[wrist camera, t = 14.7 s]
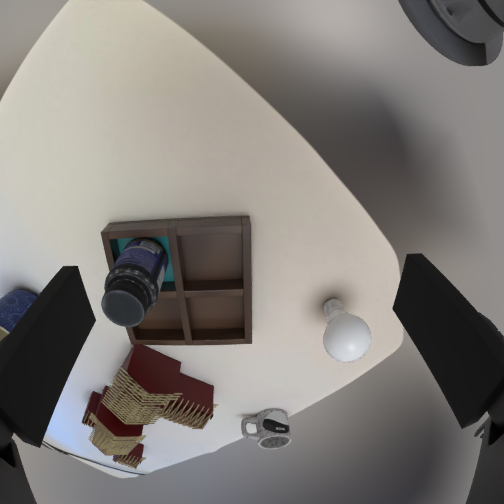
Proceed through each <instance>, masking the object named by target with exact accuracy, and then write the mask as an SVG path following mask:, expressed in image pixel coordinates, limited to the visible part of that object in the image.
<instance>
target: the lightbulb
mask: <svg viewBox="0 0 504 504" xmlns="http://www.w3.org/2000/svg"><path fill="white" fill-rule="evenodd" d="M324 311H325V314H326V316H327V327H326V329H325V332H324V336H323V343H324V347H325V350H326V352H327V353H328V355H329V356H330V357H331V358H333V359H334V360H336V361H339V362H343V363H349V362H354V361H356V360H358V359H360V358H361V357H362V356H364V355H365V353H366V352H367V351H368V349H369V347H370V343H371V332H370V329H369V326H368V325H367V323H366V322H365V321H364V320H363V319H361V318H360V317H358V316H355V315H352V314H349V313H348V312H347V311H345V310H344V309H343V307H342V305H341V303H340V301H339V300H337V299H331V300H329V301H327V302H326V303H325V305H324Z"/></svg>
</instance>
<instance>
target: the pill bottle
mask: <svg viewBox="0 0 504 504" xmlns="http://www.w3.org/2000/svg"><path fill="white" fill-rule="evenodd" d="M167 267H168V256H167V253H166V251H165V250H164V248H163V247H162V245H160V244H159V243H158V242H157V241H155V240H153V239H151V238H147V237H142V238H135V239H133V240H131V241H130V242H129V243H128V244H127V245H126V247H125V248H124V250H123V251H122V253H121V254H120V256H119V258H118V259H117V261H116V262H115V264H114V266H113V267H112V269H111V271H110V272H109V274H108V276H107V277H106V280H105V287H104V289H105V294H104V296H103V298H102V304H101V305H102V309H103V312H104V314H105V315H106V316H107V318H109V320H111V321H112V322H113V323H115V324H117V325H119V326H124V327H133V326H137V325H138V324H140V323H141V322H142V321H143V319H144V317H145V314H146V313H147V312H148V311H150V310H151V309H152V308H153V307H154V305H155V304H156V301H157V298H158V295H159V292H160V289H161V285H162V282H163V279H164V276H165V273H166V270H167Z"/></svg>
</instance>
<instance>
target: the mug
mask: <svg viewBox="0 0 504 504" xmlns="http://www.w3.org/2000/svg"><path fill="white" fill-rule="evenodd" d="M247 423H252V424H256V427H257V434H249V433H247V431H246V424H247ZM241 430H242V434H243V436H244V437H246V438H249V439H253V440H258V445H259V447H261V448H264V449H278V448H282V447H285V446H287V445H289V444H290V443H291V434H290V429H289V423H288V418H287V413H286V412H285V411H284V410H281V409H267V410H264V411H261V412H260V413H258V414H257V415H256V417H252V418H245V419H243V420H242V422H241Z"/></svg>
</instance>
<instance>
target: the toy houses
mask: <svg viewBox="0 0 504 504" xmlns="http://www.w3.org/2000/svg"><path fill="white" fill-rule="evenodd" d="M180 365H181V362H179V361H177V360H174V359H172V358H170V357H168V356H165V355H163V354H161V353H159V352H157V351H155V350H152V349H150V348H148V347H146V346H144V345H138V344H134V346H133V347H132V349H131V351H130V353H129V354H128V356H127V358H126V360H125V361H124V363H123V365H122V367H120V370H118V371H119V372H118V373H117V376H115V379H114V380H113V381H114V382H113V383H112V384H113V385H112V386H111V385H110V386H111V387H112V388H110V387H107V386H105V388H104V390H103V392H102V395H100V394H98V393H96V392H94V391H93V392H92V395H91V397H90V399H89V402H88V405H87V408H86V411H85V414H84V417H83V420H82V422H83V424H84V423H85V424H86V426H87V425H89V427H93V430H94V429H95V428H96V429H95V430H94V431H95V432H94V431H93V432H94V433H93V432H92V433H93V434H94V435H93V434H92V433H91V434H92V435H93V436H92V435H91V436H92V437H93V438H92V437H91V436H90V437H91V438H92V439H93V440H92V439H91V438H90V437H89V438H90V439H91V440H92V441H91V440H90V439H89V438H88V439H89V440H90V441H91V442H92V443H93V444H94V445H95V446H96V447H97V448H98V449H99V450H100V451H101V452H102V453H104V454H105V455H114V456H113V461H114V462H118V461H119V462H118V463H119V464H122V463H123V464H124V463H125V464H126V465H127V466H128V465H129V466H128V467H131V466H132V467H131V468H135V469H136V468H137V466H138V464H139V463H141V462H142V461H143V460H145V459H146V458H145V457H143V458H142V453H143V447H144V445H143V444H140V443H139V442H140V441H142V440H143V439H144V438H145V437H143V436H141V435H142V430H143V425H148V424H154V423H149V422H156V421H151V420H158V419H153V418H160V417H164V419H167V420H168V419H170V420H169V421H174V422H173V423H178V424H182V425H183V424H185V425H183V426H188V427H194V428H192V429H203V428H204V426H205V425H206V423H207V422H208V420H209V419H210V420H211V418H212V417H213V412H214V410H213V409H214V408H215V407H216V406H218V404H217V405H216V404H213V391H214V386H212V385H209V384H206V383H204V382H201V381H199V380H196V379H194V378H191V377H189V376H186V375H184V374H182V373H179V372H180ZM214 406H215V407H214ZM155 416H159V417H155ZM175 421H176V422H175ZM85 424H84V425H85ZM144 436H146V435H144ZM121 462H122V463H121ZM123 464H122V465H123ZM125 464H124V465H125ZM126 465H125V466H126Z"/></svg>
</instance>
